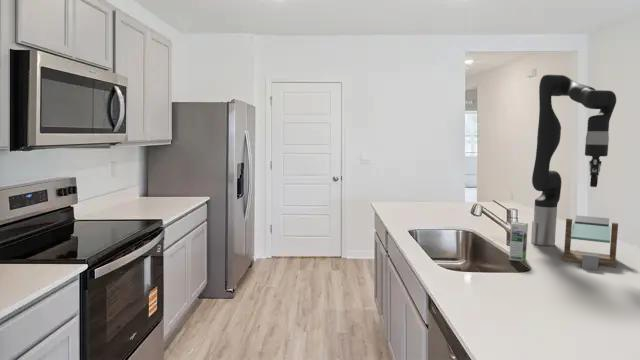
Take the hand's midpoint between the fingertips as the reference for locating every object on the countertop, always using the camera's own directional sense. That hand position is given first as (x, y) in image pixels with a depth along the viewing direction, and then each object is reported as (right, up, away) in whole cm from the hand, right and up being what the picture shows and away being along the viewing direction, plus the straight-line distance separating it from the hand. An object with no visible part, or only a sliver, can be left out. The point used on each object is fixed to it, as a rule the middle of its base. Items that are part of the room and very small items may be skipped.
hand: (593, 186), depth 181 cm
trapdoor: (+4, -20, +8) cm, 22 cm away
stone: (-5, -25, -7) cm, 26 cm away
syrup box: (-28, -29, +4) cm, 40 cm away
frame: (+2, -29, +7) cm, 30 cm away
